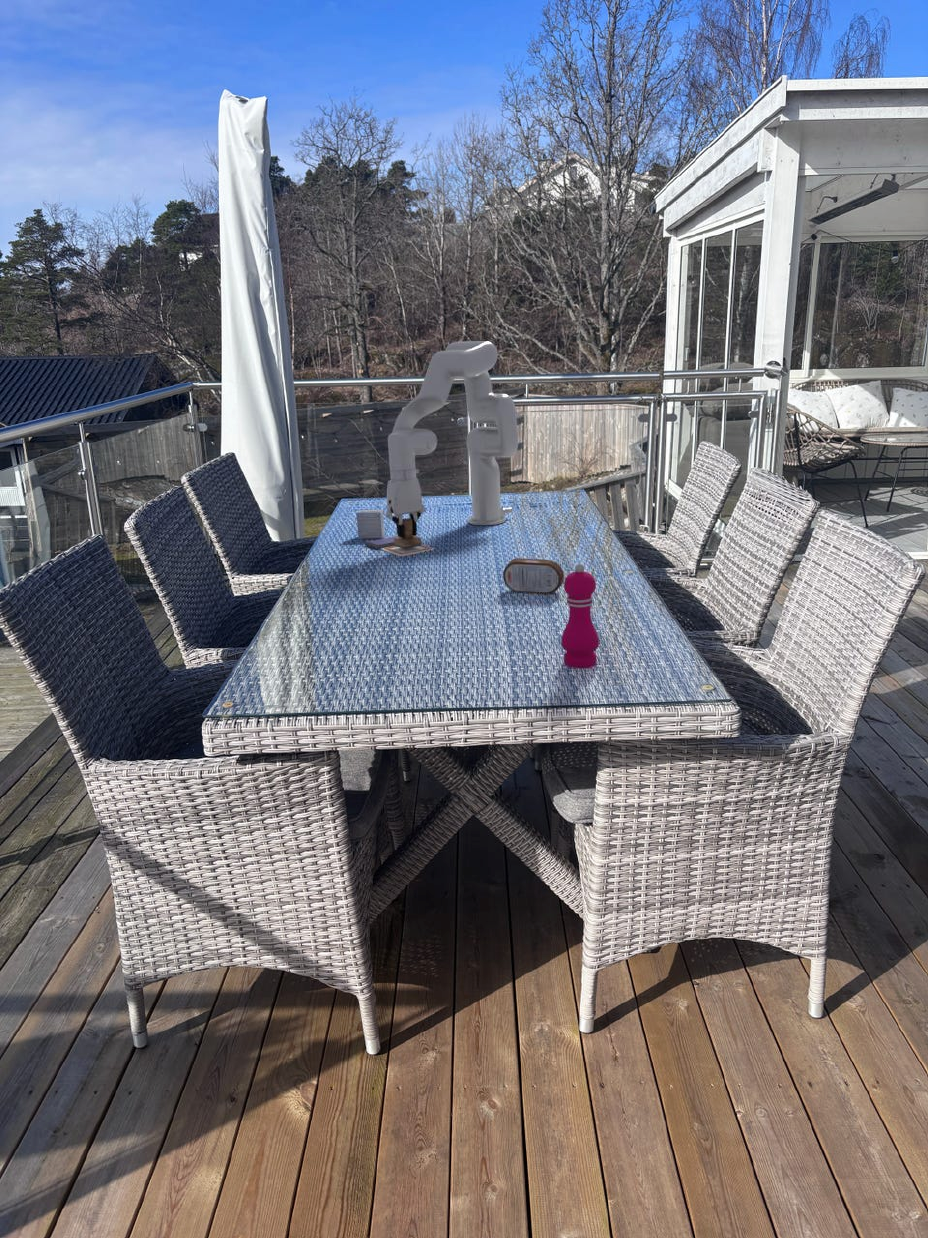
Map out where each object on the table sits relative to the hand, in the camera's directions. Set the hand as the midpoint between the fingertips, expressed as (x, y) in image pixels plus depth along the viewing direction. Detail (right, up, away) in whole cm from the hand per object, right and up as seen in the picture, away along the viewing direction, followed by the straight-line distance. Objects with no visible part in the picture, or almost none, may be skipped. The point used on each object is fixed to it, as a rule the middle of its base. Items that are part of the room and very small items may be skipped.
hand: (407, 535), depth 268 cm
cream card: (0, -4, +1) cm, 4 cm away
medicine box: (-13, +1, +20) cm, 23 cm away
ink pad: (-7, -2, +9) cm, 11 cm away
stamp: (0, -3, +1) cm, 3 cm away
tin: (+34, -19, -47) cm, 61 cm away
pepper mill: (+40, -34, -94) cm, 108 cm away
